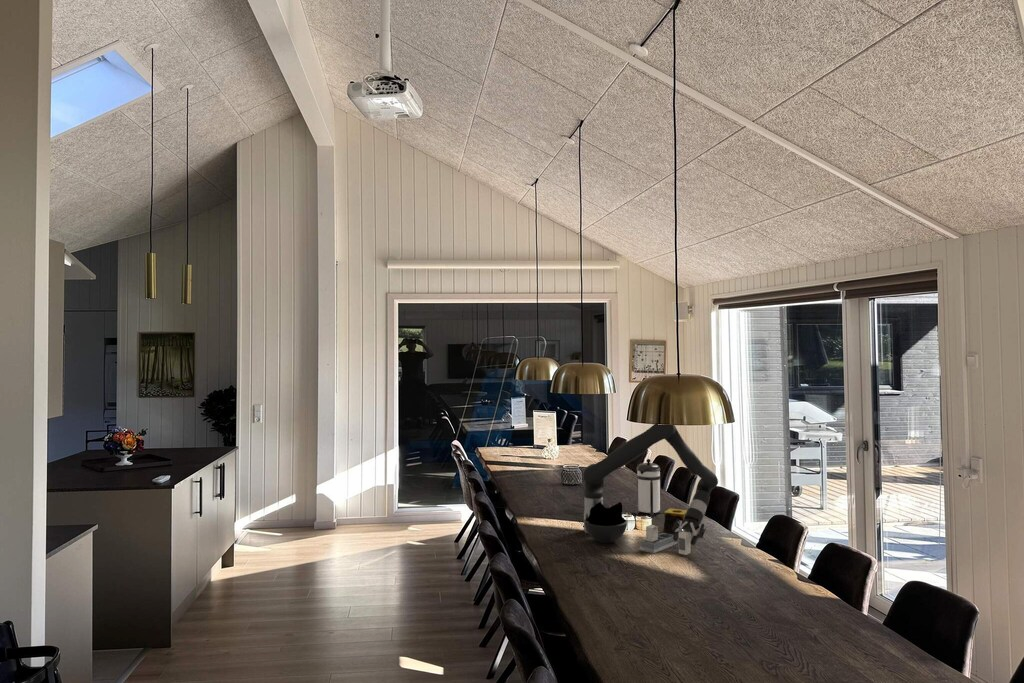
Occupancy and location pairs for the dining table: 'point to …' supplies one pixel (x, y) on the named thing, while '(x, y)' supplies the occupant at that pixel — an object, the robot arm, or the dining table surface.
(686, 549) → the tall off-white block
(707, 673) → the dining table surface
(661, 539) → the gray compartment block tray
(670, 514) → the candle
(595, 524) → the coal bowl
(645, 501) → the coffee press
